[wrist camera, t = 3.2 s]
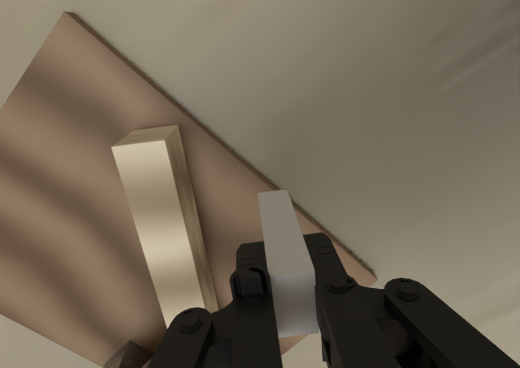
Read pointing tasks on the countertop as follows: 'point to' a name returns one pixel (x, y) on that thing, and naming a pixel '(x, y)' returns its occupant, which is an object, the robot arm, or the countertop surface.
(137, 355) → the block
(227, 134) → the countertop surface
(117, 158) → the link
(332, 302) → the robot arm
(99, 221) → the base plate
